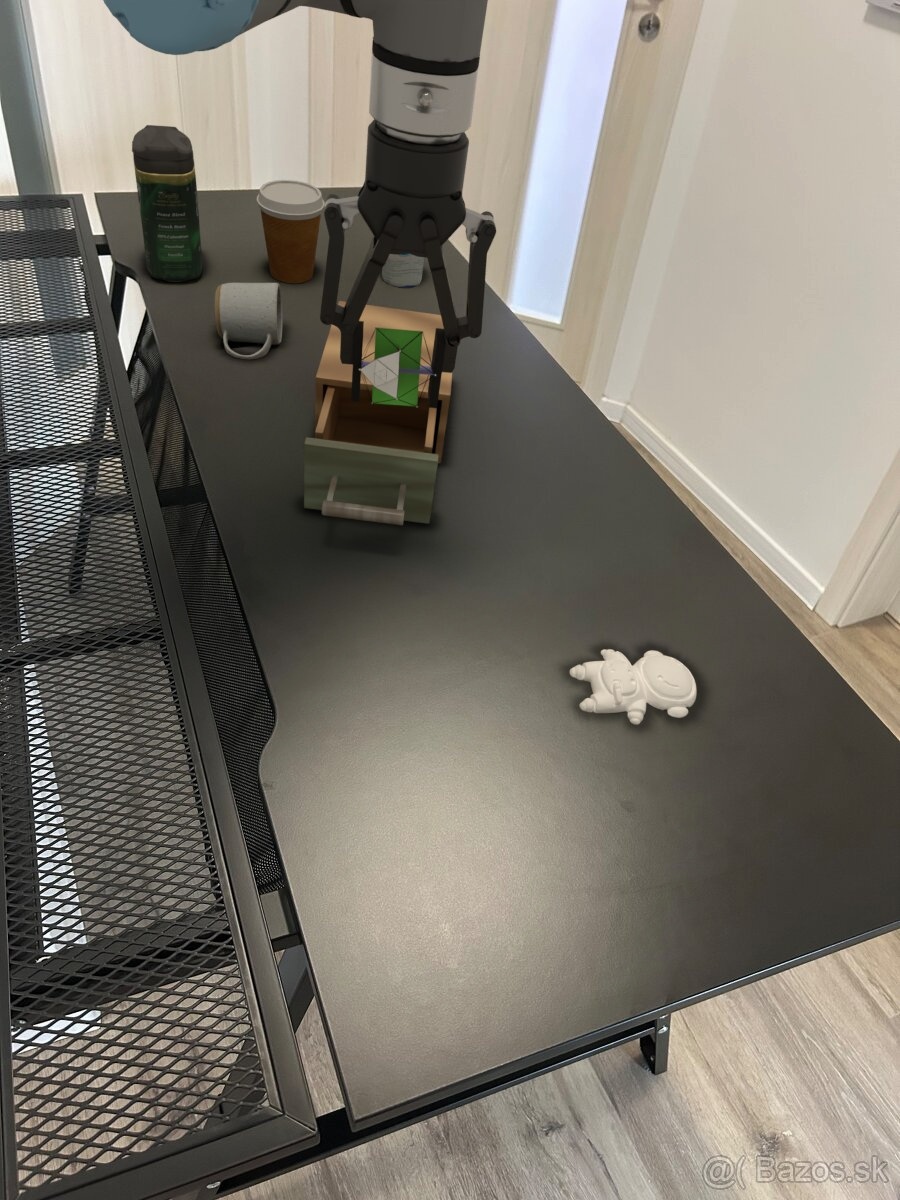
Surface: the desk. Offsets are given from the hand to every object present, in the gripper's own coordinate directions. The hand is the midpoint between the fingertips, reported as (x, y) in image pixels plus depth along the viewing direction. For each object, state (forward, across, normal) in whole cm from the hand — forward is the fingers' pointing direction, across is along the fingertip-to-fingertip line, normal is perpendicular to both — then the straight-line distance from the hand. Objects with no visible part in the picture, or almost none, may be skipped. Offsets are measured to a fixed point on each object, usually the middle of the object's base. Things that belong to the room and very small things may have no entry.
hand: (394, 396), depth 79 cm
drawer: (+16, -1, +6) cm, 17 cm away
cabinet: (+17, 0, +21) cm, 27 cm away
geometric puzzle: (0, 0, 0) cm, 0 cm away
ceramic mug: (+17, -17, +36) cm, 43 cm away
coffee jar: (+17, -30, +55) cm, 65 cm away
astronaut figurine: (+17, +23, -20) cm, 35 cm away
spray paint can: (+17, +3, +59) cm, 62 cm away
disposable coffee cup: (+17, -14, +57) cm, 61 cm away
